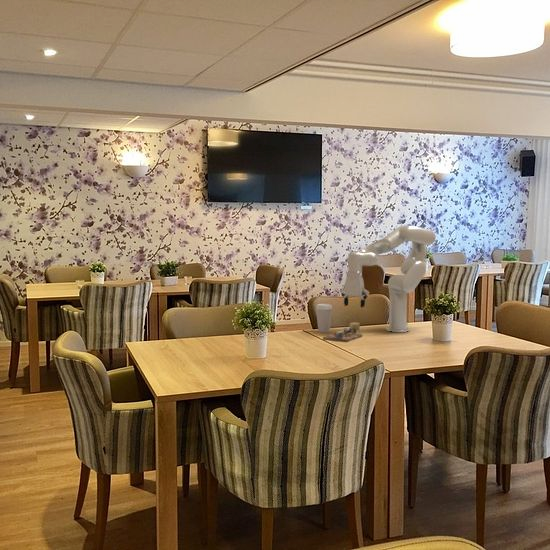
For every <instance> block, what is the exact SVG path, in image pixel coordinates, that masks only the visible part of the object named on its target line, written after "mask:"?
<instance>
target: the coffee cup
mask: <svg viewBox="0 0 550 550" xmlns="http://www.w3.org/2000/svg"><path fill="white" fill-rule="evenodd" d="M315 310H316V320H317V321H316V322H317V331H320V332H319V333H330V332H331V322H332V311H333V306H332V304H329V303H318V304H316V307H315ZM329 331H330V332H329Z"/></svg>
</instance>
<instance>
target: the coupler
mask: <svg viewBox="0 0 550 550" xmlns="http://www.w3.org/2000/svg"><path fill="white" fill-rule="evenodd" d="M360 324H361V323H360V322H354V321H353V322H349V327H351V328H353V334H361V333H360V330H361V329H360V326H361V325H360Z"/></svg>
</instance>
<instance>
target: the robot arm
mask: <svg viewBox="0 0 550 550" xmlns="http://www.w3.org/2000/svg"><path fill="white" fill-rule="evenodd" d="M436 237H437V236H436V233H435V232H434V231H433V230H432V229H428V228H422V227H419V226H415V225H401V226H398V227H397V228H395V229H394V230H392V231H391V232H389V233H388V234H387V235H385V236H384V237H383V238H380V239H378V240H376V241H374V242H372V243H370V244H369V245H367V246H365V247H364V248H362V249H361V250H360V251H359V252H358V251H352V252H349V253H348V259H347V263H348V264H347V265H348V266H347V272H345V275H346V277H345V278H346V279H345V283H344V287H343V288H341V289H340V290H339V292H340V294H341V296H342V297H343V304H344V306H345V307H346V306H349V298H348V297H350V296H351V297H360V298H361V299H360V308H364V307H365V305H366V299H367V298H368V297H369V295H370V291H369V290H367V289H366V288H365V282H364V277H363V266H369V267H370V266H374V265H376V264H377V263H378V260H379V259H378V256H379V255H381V254H385V253H390V252H392V251H394V250H395V249H396V248H398V247H399V246H401V245H402V244H404V243H405V242H411V244H412V245H411V246H412V248H411V250H410V253H409V254H408V255H407V257H406V258H405V260H404V261H403V262H402V263H401V266H400V272H401V273H402V274H392V275H391V276H390V277H389V279H388V282H387V287H388V293H389V295H388V296H389V315H388V316H389V317H388V319H389V320H388V321H389V323H388V325H389V326H388V327H386V331H387V332H390V331H392V332H391V333H407V331H408V332H410V328H408V327H407V326H408V324H409V323H408V320H407V319H408V317H407V316H408V313H407V310H408V307H407V305H408V298H407V294H410V293H412V292H413V291H414V290H415V289H416V288H417V287H418V285H419V284H420V282H421V281H422V279H423V278H424V276H425V274H426V271H427V266H426V264H425V263H424V260H425V259H426V256H427V246H430V245H432V244H434V243H435V241H436Z"/></svg>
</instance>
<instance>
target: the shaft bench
mask: <svg viewBox="0 0 550 550" xmlns="http://www.w3.org/2000/svg"><path fill="white" fill-rule="evenodd" d="M361 338H363V334H361V333H360V334H353V328H351V327H350V326H349V327H345V328H344V329H343V330H340V331H335V332H334V333H332V334H328V335H325V336H323V337H322V340H326V341H335V342H343V343H350V342H351V341H354V340H356V339H357V340H358V339H361Z"/></svg>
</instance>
